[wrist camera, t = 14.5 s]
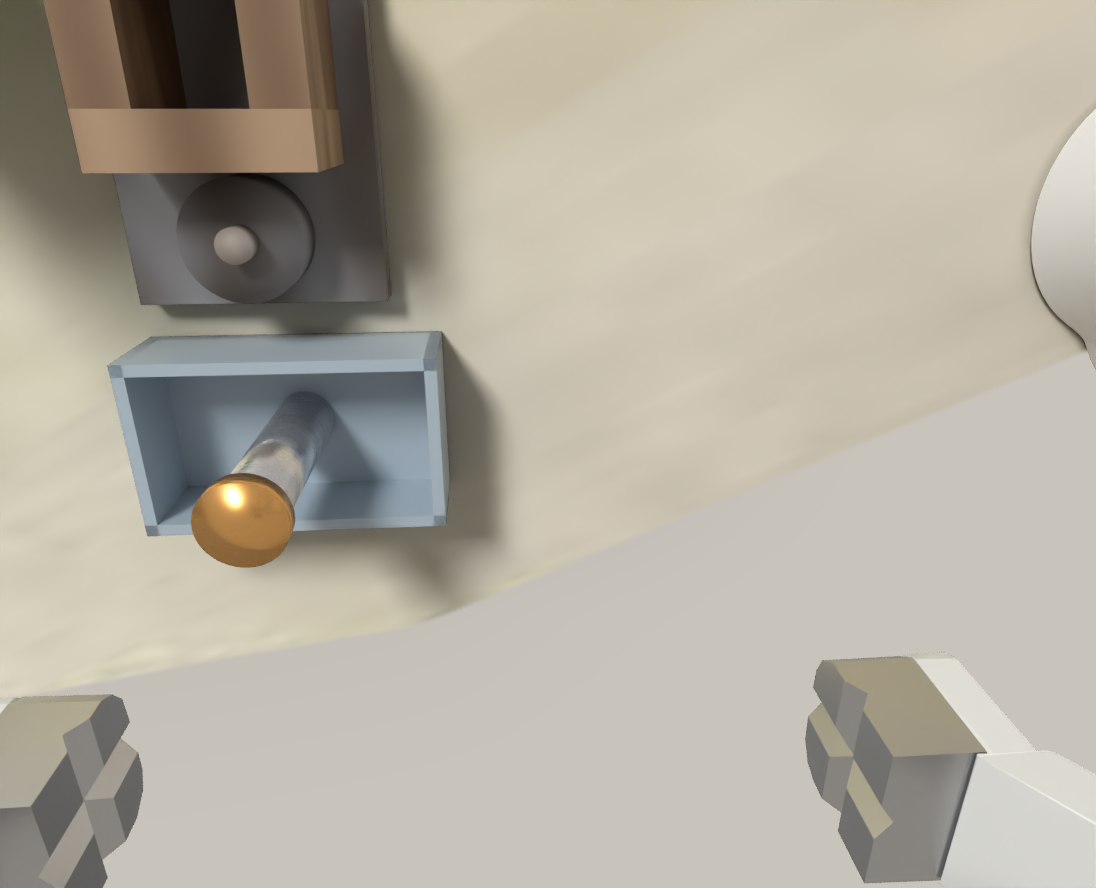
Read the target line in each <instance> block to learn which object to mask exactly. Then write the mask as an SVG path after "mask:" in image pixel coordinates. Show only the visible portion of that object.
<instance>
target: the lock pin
mask: <svg viewBox="0 0 1096 888" xmlns="http://www.w3.org/2000/svg"><path fill="white" fill-rule="evenodd" d="M334 425H335V414H334V411H333V409H332V407H331V405H330V404H329V403H328V401H327V400H325V399H324V398H323V397H322V396H320V395H318V394H315V393H312V392H306V391H302V392H296V393H293V394H291V395H289V396H288V397H287V398H286V399H285V400H284V401H283V402H282V403H281V405H280V406H279V407H278V409H277V410H276V412H275V413H274V414H273V416H272V417H271V418H270V420H269V421H268V423H267V424H266V425H265V427H264V428H263V429H262V431H261V432H260V434H259V435H258V436H257V438H256V439H255V441H254V442H253V443H252V445H251V446H250V447H249V449H248V450H247V452H246V453H245V454H244V456H243V457H242V458H241V460H240V461H239V463H238V464H237V465H236V467H235V468H234V469H233V471H232V472H231V474H229V475H226V476H223V477H221V478H219V479H217V480H216V481H214V482H213V483H212V484H211V485H209V486H208V488H207V489H206V490H205V492H204V493H203V494H202V496H201V497H200V498H199V499H198V501H197V502H196V504H195V506H194V508H193V511H192V515H191V527H192V531H193V534H194V537H195V539H196V540H197V542H198V544H199V545H200V546H201V548H202V549H203V550H204V551H205V552H206V553H207V554H209V555H210V556H211V557H213V558H214V559H216V560H218V561H220V562H222V563H225V564H228V565H231V566H235V567H256V566H260V565H263V564H266V563H268V562H270V561H272V560H273V559H275V558H276V557H277V556H279V555H280V554H281V552H282V551H283V550H284V548H285V547H286V545H287V543H288V540H289V538H290V536H291V534H292V532H293V529H294V526H295V511H294V506H295V504H296V502H297V500H298V498H299V496H300V494H301V492H302V490H303V488H304V486H305V484H306V482H307V480H308V478H309V476H310V474H311V472H312V470H313V468H314V466H315V464H316V462H317V460H318V458H319V456H320V454H321V452H322V450H323V448H324V446H325V444H326V442H327V440H328V438H329V437H330V435H331V433H332V431H333V428H334Z"/></svg>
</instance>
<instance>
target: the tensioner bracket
mask: <svg viewBox="0 0 1096 888" xmlns="http://www.w3.org/2000/svg"><path fill="white" fill-rule="evenodd" d="M43 2H44V7H45V11H46V15H47V20H48V24H49V29H50V33H51V38H52V42H53V46H54V51H55V55H56V60H57V64H58V69H59V73H60V78H61V82H62V86H63V91H64V95H65V100H66V104H67V109H68V113H69V117H70V122H71V126H72V131H73V135H74V140H75V144H76V149H77V153H78V157H79V162H80V166H81V171H82V173H113V174H114V179H115V184H116V189H117V193H118V198H119V203H120V208H121V213H122V217H123V222H124V227H125V232H126V236H127V241H128V246H129V251H130V255H131V260H132V265H133V270H134V274H135V279H136V284H137V289H138V293H139V298H140V303H141V305H175V304H238V303H242V304H256V303H300V302H362V301H388V300H389V298H390V296H391V286H390V274H389V261H388V249H387V237H386V224H385V212H384V199H383V187H382V174H381V162H380V150H379V137H378V125H377V112H376V100H375V88H374V75H373V63H372V50H371V38H370V26H369V13H368V1H367V0H43Z"/></svg>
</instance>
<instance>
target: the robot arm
mask: <svg viewBox="0 0 1096 888" xmlns="http://www.w3.org/2000/svg"><path fill="white" fill-rule="evenodd" d="M1031 252H1032V263H1033V269H1034V273H1035V277H1036V280H1037V283H1038V286H1039V289H1040V291H1041V293H1042V295H1043V297H1044V299H1045V300H1046V302H1047V304H1048V305H1049V306H1050V308H1051V309H1052V310H1053V311H1054V313H1055V314H1056V315H1057V316H1058V317H1059V318H1060V319H1061V320H1062V321H1064V322H1065V323H1066V324H1067V325H1069V326H1070V327H1071V328H1072V329H1074V330H1075V331H1076V332H1077V333H1078V334H1079V335H1080V336H1081V337H1082V338H1083V340H1084V341H1085V344H1086V347H1087V350H1088V353H1089V356H1090V358H1091V361H1092V363H1093V365H1094V367H1095V369H1096V109H1095V110H1094V111H1093V112H1092V113H1091V114H1090V115H1089V116H1088V117H1087V118H1086V119H1085V120H1084V121H1083V123H1082V124H1081V125H1080V126H1079V127H1078V128H1077V130H1076V131H1075V132H1074V133H1073V135H1072V136H1071V137H1070V139H1069V140H1068V142H1067V143H1066V144H1065V146H1064V147H1063V149H1062V150H1061V152H1060V154H1059V155H1058V157H1057V159H1056V160H1055V162H1054V164H1053V166H1052V168H1051V170H1050V172H1049V174H1048V176H1047V178H1046V181H1045V183H1044V186H1043V188H1042V191H1041V194H1040V197H1039V200H1038V203H1037V207H1036V211H1035V216H1034V220H1033V228H1032V239H1031ZM814 690H815V691H816V693H817V695H818V697H819V698H820V700H821V702H822V703H821V704H820V705H819V706H818V707H817V708H816V709H815V710H814V711H813V712H812V713H811V714H810V715H809V716H808V723H807V730H806V738H805V740H806V749H807V758H808V764H809V767H810V770H811V774H812V777H813V780H814V783H815V785H816V787H817V789H818V791H819V793H820V795H821V797H822V799H824V800H825V801H826V802H828V803H829V804H830V805H832V806H833V807H834V808H836V809H837V810H839V811H840V812H841V818H840V823H839V829H838V832H839V834H840V836H841V838H842V840H843V842H844V844H845V846H846V848H847V850H848V852H849V854H850V856H851V858H852V860H853V862H854V864H855V866H856V868H857V870H858V872H859V874H860V876H861V877H862V880H863V881H864V883H882V882H906V881H933V880H940V885H941V886H942V887H943V888H1096V774H1094V773H1092V772H1090V771H1088V770H1086V769H1085V768H1082V767H1081V766H1079V765H1077V764H1075V763H1073V762H1071V761H1070V760H1068V759H1066V758H1064V757H1062V756H1060V755H1058V754H1056V753H1054V752H1052V751H1050V750H1048V751H1037V750H1036V749H1035V748H1034V747H1033V746H1032V745H1031V744H1030V742H1029V741H1028V740H1027V739H1026V738H1025V737H1024V735H1023V734H1022V733H1021V732H1020V731H1019V730H1018V729H1017V728H1016V726H1015V725H1014V724H1013V723H1012V722H1011V721H1010V720H1009V718H1008V717H1007V716H1006V715H1005V714H1004V713H1003V712H1002V711H1001V709H1000V708H999V707H998V706H997V705H996V704H995V703H994V701H993V700H992V699H991V698H990V697H989V696H988V694H987V693H986V692H985V691H984V690H983V689H982V688H981V687H980V685H979V684H978V683H977V682H976V681H975V680H974V679H973V678H972V676H971V675H970V674H969V673H968V672H967V671H966V669H965V668H964V667H963V666H962V665H961V664H960V663H959V662H958V660H957V659H956V658H954V657H953V656H951V655H949V654H947V653H945V652H939V653H925V654H911V655H903V656H902V657H901V656H895V657H877V658H860V659H859V658H858V659H840V660H823V661H822V662H821V664H820V665H819V667H818V669H817V671H816V676H815V681H814ZM129 722H130V721H129V718H128V715H127V712H126V709H125V706H124V703H123V700H122V699H121V698H119V697H116V696H114V695H74V696H34V697H22V698H0V888H103V886H104V884H105V882H106V880H107V874H106V871H105V868H104V864H103V861H102V860H103V859H104V858H105V857H106V856H107V855H109V854H110V853H111V852H113V851H114V850H115V849H116V848H118V847H119V846H120V845H121V844H122V843H124V842H125V841H126V840H127V838H128V835H129V833H130V831H131V829H132V827H133V825H134V823H135V821H136V818H137V815H138V810H139V806H140V801H141V797H142V792H143V776H142V767H141V762H140V758H139V754H138V752H137V751H135V750H134V749H133V748H132V747H131V746H129V745H128V744H127V743H126V742H124V741H123V740H122V739H121V736H122V735H123V733H124V731H125V730H126V728H127V726H128V724H129Z"/></svg>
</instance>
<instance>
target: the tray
mask: <svg viewBox="0 0 1096 888" xmlns="http://www.w3.org/2000/svg"><path fill="white" fill-rule="evenodd" d="M107 366H108V371H109V375H110V379H111V383H112V388H113V392H114V396H115V400H116V405H117V409H118V413H119V417H120V422H121V426H122V430H123V434H124V439H125V443H126V447H127V451H128V456H129V460H130V464H131V468H132V473H133V477H134V481H135V485H136V490H137V494H138V498H139V502H140V507H141V511H142V515H143V519H144V524H145V528H146V532H147V536H170V535H194V534H193V531H192V527H191V515H192V511H193V508H194V506H195V504H196V502H197V501H198V499H199V498H200V497H201V496H202V494H203V493H204V492H205V490H206V489H207V488H208V486H209V485H211V484H212V483H213V482H214V481H216V480H217V479H219V478H221V477H223V476H226V475H229V474H231V472H232V471H233V469H234V468H235V467H236V465H237V464H238V463H239V461H240V460H241V458H242V457H243V456H244V454H245V453H246V452H247V450H248V449H249V447H250V446H251V445H252V443H253V442H254V441H255V439H256V438H257V436H258V435H259V434H260V432H261V431H262V429H263V428H264V427H265V425H266V424H267V423H268V421H269V420H270V418H271V417H272V416H273V414H274V413H275V412H276V410H277V409H278V407H279V406H280V405H281V403H282V402H283V401H284V400H285V399H286V398H287V397H288V396H289V395H291V394H293V393H296V392H302V391H306V392H312V393H315V394H318V395H320V396H322V397H323V398H324V399H325V400H327V401H328V403H329V404H330V405H331V407H332V409H333V411H334V414H335V425H334V428H333V431H332V433H331V435H330V437H329V438H328V440H327V442H326V444H325V446H324V448H323V450H322V452H321V454H320V456H319V458H318V460H317V462H316V464H315V466H314V468H313V470H312V472H311V474H310V476H309V478H308V480H307V482H306V484H305V486H304V488H303V490H302V492H301V494H300V496H299V498H298V500H297V502H296V504H295V506H294V511H295V526H294V529H293V531H311V530H339V529H367V528H395V527H423V526H446V520H447V510H448V500H449V490H450V472H449V454H448V436H447V418H446V400H445V382H444V364H443V346H442V331H436V332H382V333H329V334H275V335H222V336H169V337H150V338H148V339H147V340H145V341H144V342H142V343H141V344H139V345H138V346H136V347H135V348H133V349H132V350H130V351H129V352H127V353H126V354H124V355H123V356H121V357H120V358H118V359H116V360H115V361H113V362H112V363H110V364H109V365H107Z"/></svg>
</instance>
